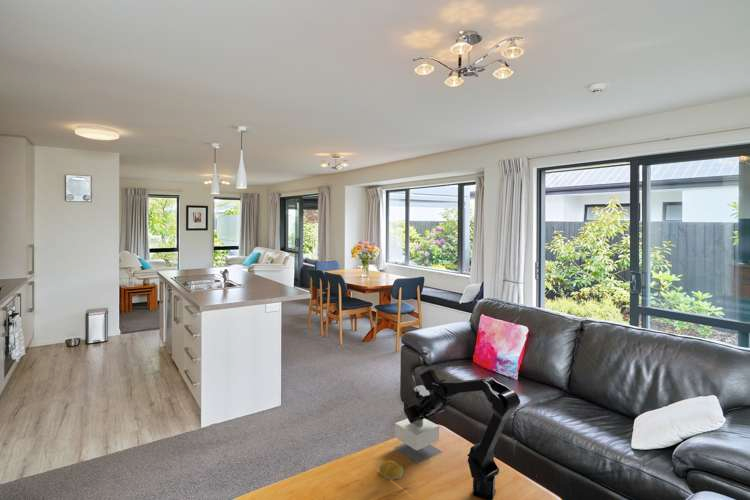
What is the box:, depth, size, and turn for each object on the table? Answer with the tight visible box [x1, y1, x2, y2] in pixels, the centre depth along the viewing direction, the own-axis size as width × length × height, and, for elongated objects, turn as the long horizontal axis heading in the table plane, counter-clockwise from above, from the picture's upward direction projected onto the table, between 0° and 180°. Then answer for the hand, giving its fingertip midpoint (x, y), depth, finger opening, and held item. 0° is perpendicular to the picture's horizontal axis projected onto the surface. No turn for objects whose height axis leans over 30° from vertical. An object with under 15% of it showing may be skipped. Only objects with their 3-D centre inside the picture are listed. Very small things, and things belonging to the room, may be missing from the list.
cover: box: [394, 417, 440, 451], centre depth 164 cm, size 13×13×11 cm
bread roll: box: [379, 459, 404, 481], centre depth 150 cm, size 8×9×4 cm
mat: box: [394, 443, 443, 464], centre depth 165 cm, size 14×14×1 cm
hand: (414, 417), depth 165 cm, fingers closed on cover
